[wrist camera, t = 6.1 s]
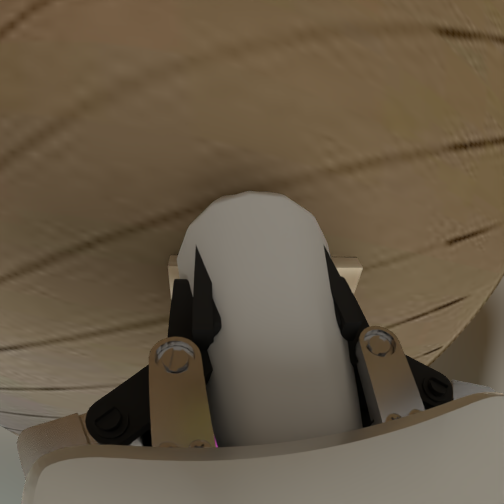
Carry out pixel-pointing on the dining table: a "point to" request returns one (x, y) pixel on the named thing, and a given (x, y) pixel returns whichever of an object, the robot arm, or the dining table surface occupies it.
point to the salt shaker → (271, 323)
